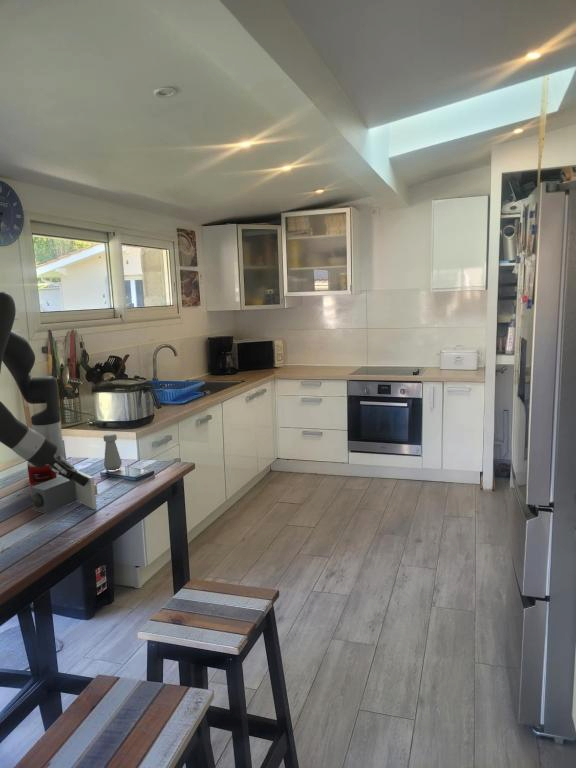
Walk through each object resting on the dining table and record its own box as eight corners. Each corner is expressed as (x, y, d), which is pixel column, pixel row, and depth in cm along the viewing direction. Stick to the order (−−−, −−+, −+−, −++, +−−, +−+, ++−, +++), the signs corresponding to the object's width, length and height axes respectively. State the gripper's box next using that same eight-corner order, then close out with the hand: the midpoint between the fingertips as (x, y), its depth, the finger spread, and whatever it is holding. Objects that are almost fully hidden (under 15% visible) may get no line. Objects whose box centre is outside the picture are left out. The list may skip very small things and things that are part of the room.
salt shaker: (125, 469, 194) (122, 432, 192) (112, 474, 189) (109, 437, 187) (114, 466, 197) (110, 431, 195) (101, 471, 192) (97, 435, 190)
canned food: (47, 488, 177) (43, 455, 176) (64, 492, 173) (60, 458, 171) (25, 497, 171) (21, 462, 169) (42, 501, 167) (37, 466, 165)
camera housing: (66, 496, 170) (63, 467, 168) (80, 499, 167) (76, 470, 165) (31, 511, 160) (27, 480, 158) (44, 514, 157) (40, 483, 155)
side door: (77, 500, 165) (73, 471, 164) (82, 498, 167) (79, 469, 165) (93, 509, 158) (90, 478, 157) (99, 507, 160) (96, 476, 158)
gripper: (46, 442, 145) (99, 478, 153) (41, 431, 156) (90, 466, 164) (26, 465, 143) (80, 501, 151) (22, 453, 155) (73, 486, 163)
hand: (85, 482), depth 158 cm, fingers closed
